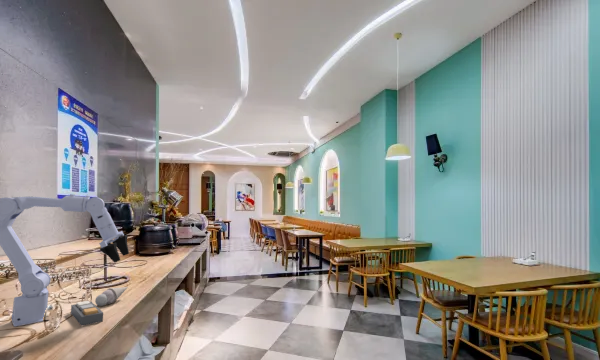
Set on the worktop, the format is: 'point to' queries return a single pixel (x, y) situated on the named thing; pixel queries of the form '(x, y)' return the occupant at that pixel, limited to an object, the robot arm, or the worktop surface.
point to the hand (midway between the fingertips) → (122, 257)
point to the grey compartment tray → (86, 319)
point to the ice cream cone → (109, 296)
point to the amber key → (90, 311)
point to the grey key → (86, 307)
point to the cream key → (82, 303)
